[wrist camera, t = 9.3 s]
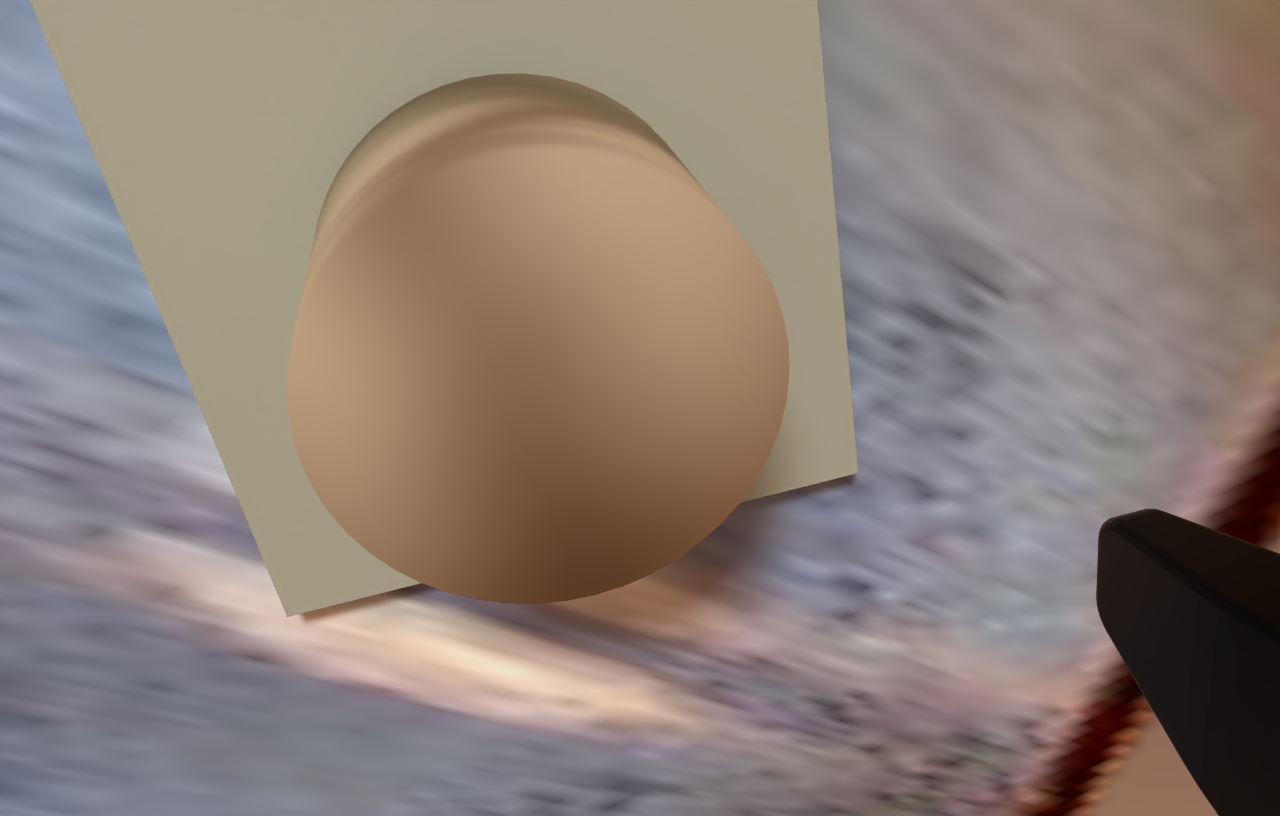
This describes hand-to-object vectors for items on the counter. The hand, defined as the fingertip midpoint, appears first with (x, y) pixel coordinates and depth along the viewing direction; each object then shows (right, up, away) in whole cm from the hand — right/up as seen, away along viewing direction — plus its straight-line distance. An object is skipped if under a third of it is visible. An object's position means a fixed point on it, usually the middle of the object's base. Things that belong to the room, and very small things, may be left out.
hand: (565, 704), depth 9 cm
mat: (-2, +5, +12) cm, 13 cm away
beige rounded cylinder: (-2, +5, +11) cm, 12 cm away
